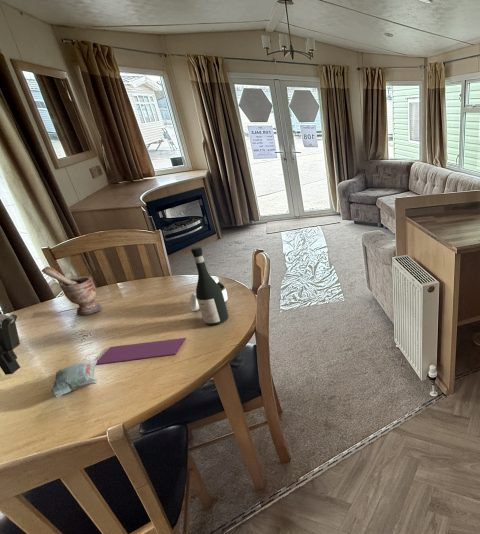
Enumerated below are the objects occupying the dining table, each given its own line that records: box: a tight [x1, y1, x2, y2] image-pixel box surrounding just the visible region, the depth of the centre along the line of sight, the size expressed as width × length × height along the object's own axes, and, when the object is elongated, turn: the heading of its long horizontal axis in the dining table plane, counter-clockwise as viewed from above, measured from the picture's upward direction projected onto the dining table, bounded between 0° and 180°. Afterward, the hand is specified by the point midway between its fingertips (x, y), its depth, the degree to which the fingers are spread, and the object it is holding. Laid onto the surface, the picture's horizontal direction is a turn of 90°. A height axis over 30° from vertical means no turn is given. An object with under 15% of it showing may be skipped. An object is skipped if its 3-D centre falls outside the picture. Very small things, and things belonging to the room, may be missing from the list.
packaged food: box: [51, 358, 98, 398], centre depth 97 cm, size 9×12×5 cm
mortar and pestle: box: [41, 266, 103, 316], centre depth 128 cm, size 12×9×20 cm
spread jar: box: [189, 275, 229, 312], centre depth 136 cm, size 12×11×12 cm
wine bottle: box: [190, 246, 229, 326], centre depth 123 cm, size 8×8×30 cm
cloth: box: [95, 337, 187, 366], centre depth 112 cm, size 22×9×1 cm, turn 106°
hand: (13, 370), depth 92 cm, fingers closed
